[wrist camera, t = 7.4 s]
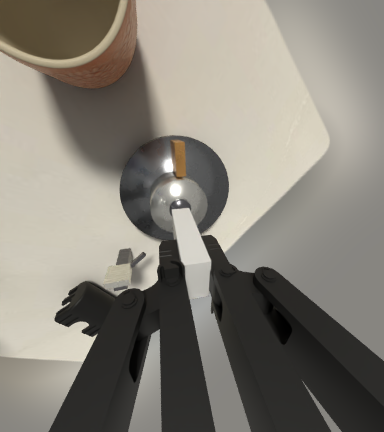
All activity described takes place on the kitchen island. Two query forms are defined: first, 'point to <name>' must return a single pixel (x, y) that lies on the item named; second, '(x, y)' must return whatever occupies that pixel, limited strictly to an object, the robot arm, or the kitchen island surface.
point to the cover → (176, 199)
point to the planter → (71, 38)
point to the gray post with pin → (121, 270)
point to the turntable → (181, 165)
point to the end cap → (85, 308)
